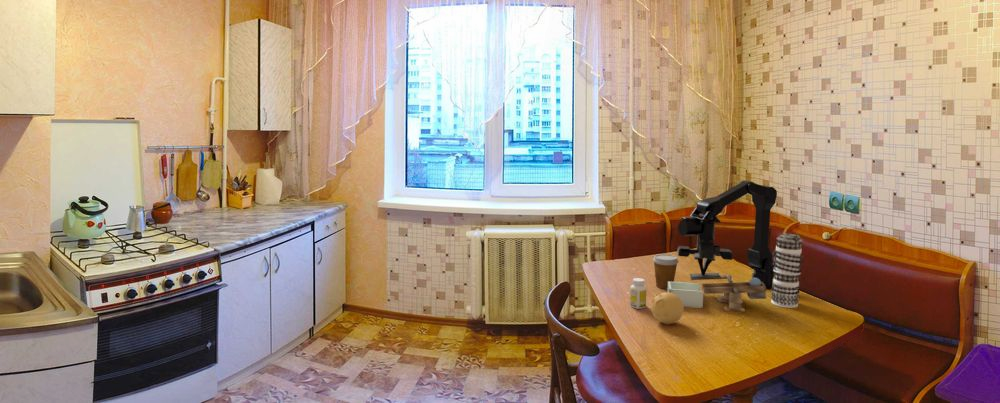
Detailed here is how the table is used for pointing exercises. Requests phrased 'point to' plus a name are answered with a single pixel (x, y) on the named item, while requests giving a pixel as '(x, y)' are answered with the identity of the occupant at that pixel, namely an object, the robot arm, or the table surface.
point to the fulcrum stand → (732, 301)
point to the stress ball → (667, 308)
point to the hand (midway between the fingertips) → (702, 274)
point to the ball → (755, 282)
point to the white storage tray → (687, 293)
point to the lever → (730, 286)
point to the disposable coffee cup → (664, 269)
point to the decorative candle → (787, 270)
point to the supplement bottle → (638, 294)
